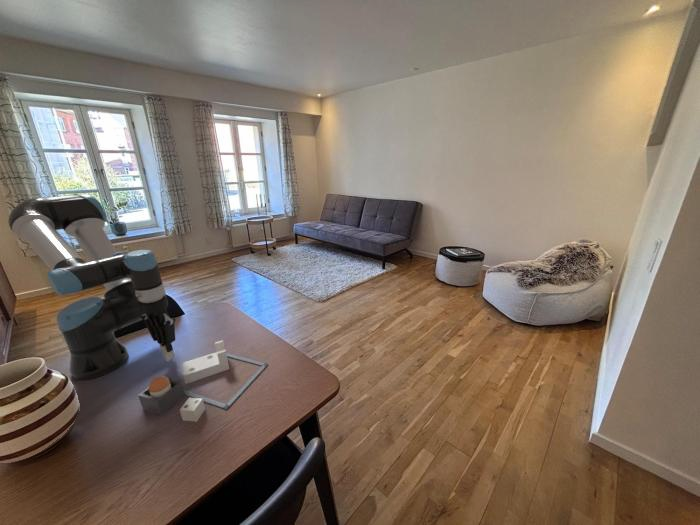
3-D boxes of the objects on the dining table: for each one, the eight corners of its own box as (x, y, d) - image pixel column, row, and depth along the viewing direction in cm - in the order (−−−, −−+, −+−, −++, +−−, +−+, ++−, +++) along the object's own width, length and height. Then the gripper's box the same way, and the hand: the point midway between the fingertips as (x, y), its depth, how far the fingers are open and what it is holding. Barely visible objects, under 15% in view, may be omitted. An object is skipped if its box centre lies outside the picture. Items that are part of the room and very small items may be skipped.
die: (182, 420, 76) (179, 409, 74) (191, 408, 80) (188, 397, 78) (196, 421, 76) (193, 410, 74) (205, 409, 79) (202, 398, 78)
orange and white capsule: (149, 403, 80) (142, 382, 77) (165, 390, 84) (159, 370, 82) (161, 408, 78) (155, 387, 76) (177, 394, 83) (171, 374, 80)
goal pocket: (178, 393, 85) (178, 391, 85) (225, 353, 102) (225, 352, 102) (226, 409, 79) (226, 408, 79) (267, 364, 96) (267, 363, 96)
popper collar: (142, 408, 80) (137, 394, 78) (167, 389, 86) (163, 376, 85) (161, 416, 77) (157, 402, 76) (185, 395, 84) (181, 382, 82)
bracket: (226, 357, 100) (223, 340, 98) (229, 369, 94) (225, 351, 92) (185, 371, 94) (180, 352, 92) (185, 384, 88) (180, 365, 86)
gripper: (126, 300, 88) (146, 361, 97) (155, 306, 84) (173, 369, 92) (149, 290, 95) (166, 348, 103) (177, 295, 91) (192, 355, 99)
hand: (169, 358), depth 98 cm, fingers closed
